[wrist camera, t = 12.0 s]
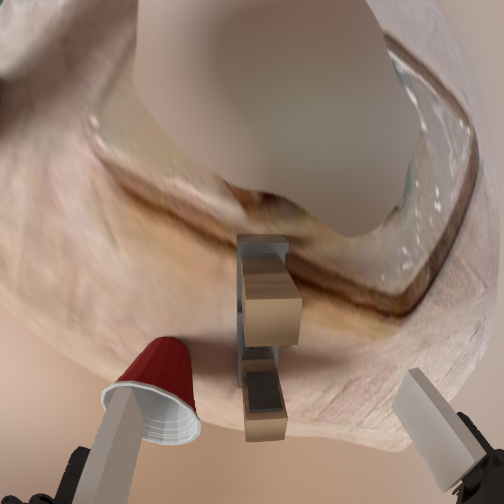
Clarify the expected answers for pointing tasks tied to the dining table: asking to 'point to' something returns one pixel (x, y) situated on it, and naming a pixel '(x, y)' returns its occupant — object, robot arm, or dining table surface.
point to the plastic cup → (162, 392)
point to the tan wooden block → (269, 303)
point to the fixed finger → (263, 401)
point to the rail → (245, 249)
